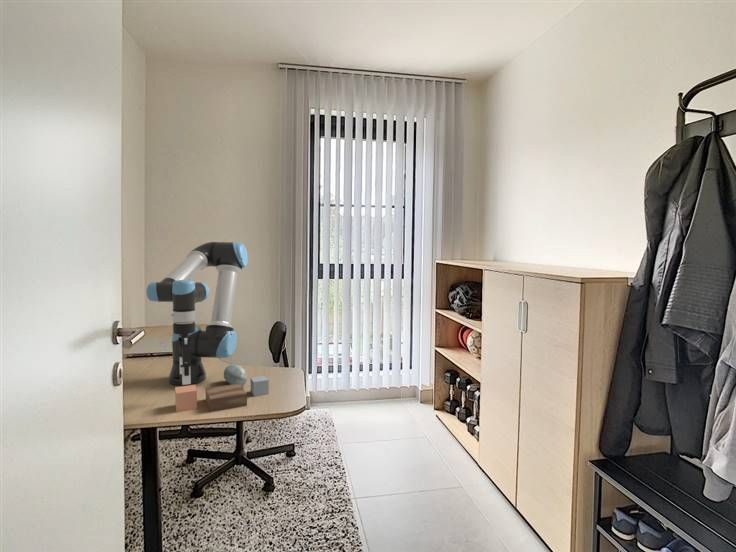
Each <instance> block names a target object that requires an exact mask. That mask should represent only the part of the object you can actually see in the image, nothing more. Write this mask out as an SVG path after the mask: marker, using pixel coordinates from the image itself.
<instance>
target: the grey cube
mask: <svg viewBox="0 0 736 552" xmlns="http://www.w3.org/2000/svg"><path fill="white" fill-rule="evenodd" d="M269 382H270V381H269V379H268V377H267V375H258V376H252V377H250V393H251V395H252V396H253V397H259V395H260V396H265V395H269V393H270V392H269V390H270V389H269V388H270V385H269Z"/></svg>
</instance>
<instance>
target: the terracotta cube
mask: <svg viewBox="0 0 736 552" xmlns="http://www.w3.org/2000/svg"><path fill="white" fill-rule="evenodd" d="M174 397H175V398H174V399H175V401H174V403H175V411H176V413H178V412H184V411H191V410H190V409H192V410H196V409H198V390H197V386H196V384H190V385H180V386H175V387H174Z"/></svg>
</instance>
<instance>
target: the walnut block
mask: <svg viewBox="0 0 736 552" xmlns="http://www.w3.org/2000/svg"><path fill="white" fill-rule="evenodd" d="M205 400H206V404H207V407H208V408H209V411H210V412H217V411H224V410H229V409H230V410H231V409H236V408H242V407H246V406H248V393H247V392H246V390H245V389H244V387H243V386H241V385H240V383H238V384H231V385H230V384H225V385H218V386H212V387H206V388H205Z"/></svg>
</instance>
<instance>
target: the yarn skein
mask: <svg viewBox="0 0 736 552" xmlns="http://www.w3.org/2000/svg"><path fill="white" fill-rule="evenodd" d="M223 370H224V371H223V378H224V380H225V381H226V382H227V383H228V385H231V384H238V383H240V385H241V386H242V387H243V386H244V385H245V384H246V383H247V381H248V372H247V371H246V370H245V369H244V368H243V367H242V366H241V365H237V364H235V363H232V364H229V365H228V366H226V367H225V369H223Z"/></svg>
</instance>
